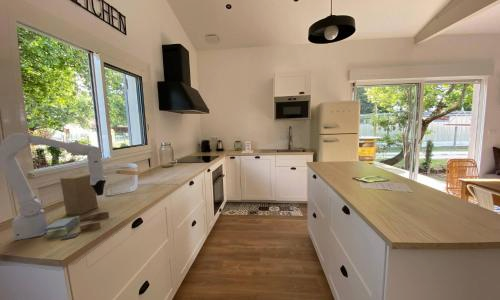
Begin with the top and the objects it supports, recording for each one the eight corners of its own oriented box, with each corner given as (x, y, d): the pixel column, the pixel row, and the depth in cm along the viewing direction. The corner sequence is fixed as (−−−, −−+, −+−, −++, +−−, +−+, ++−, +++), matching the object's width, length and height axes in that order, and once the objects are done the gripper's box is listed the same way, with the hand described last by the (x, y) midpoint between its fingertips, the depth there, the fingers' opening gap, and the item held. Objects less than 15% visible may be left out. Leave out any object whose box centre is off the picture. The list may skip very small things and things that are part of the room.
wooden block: (80, 214, 105) (74, 178, 103) (65, 214, 107) (59, 178, 105) (98, 207, 115) (93, 173, 113) (84, 206, 117) (79, 173, 115)
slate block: (46, 237, 84) (44, 228, 84) (58, 228, 92) (57, 220, 92) (65, 234, 86) (64, 225, 86) (76, 225, 94) (75, 217, 93)
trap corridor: (41, 244, 78) (40, 237, 78) (69, 220, 99) (68, 215, 98) (96, 233, 85) (95, 226, 84) (111, 213, 105) (110, 207, 105)
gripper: (100, 171, 96) (104, 198, 98) (109, 166, 110) (113, 189, 111) (82, 173, 94) (87, 200, 95) (94, 167, 107) (98, 192, 109)
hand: (100, 195), depth 103 cm, fingers closed
